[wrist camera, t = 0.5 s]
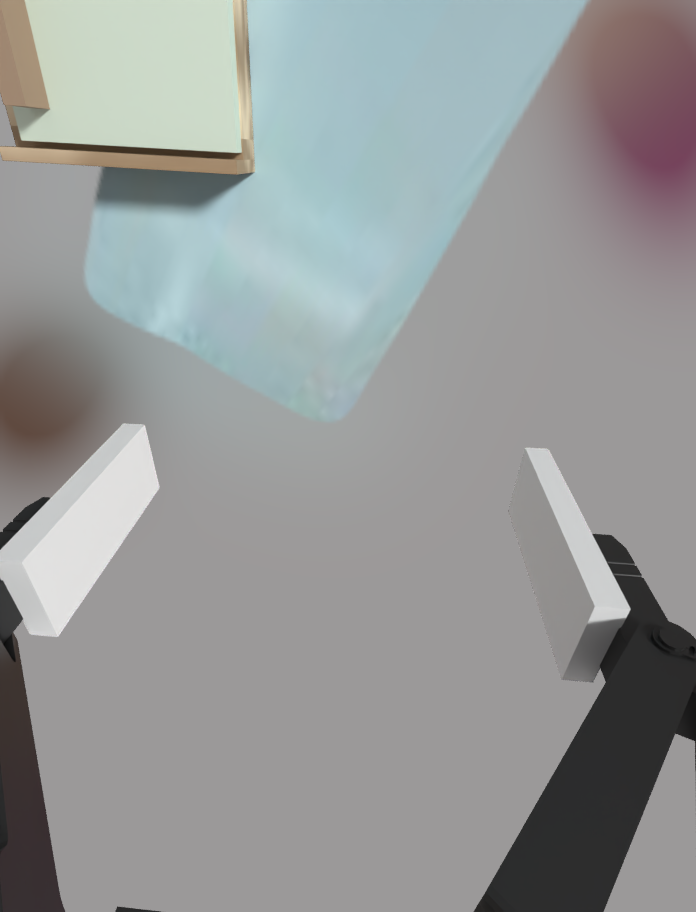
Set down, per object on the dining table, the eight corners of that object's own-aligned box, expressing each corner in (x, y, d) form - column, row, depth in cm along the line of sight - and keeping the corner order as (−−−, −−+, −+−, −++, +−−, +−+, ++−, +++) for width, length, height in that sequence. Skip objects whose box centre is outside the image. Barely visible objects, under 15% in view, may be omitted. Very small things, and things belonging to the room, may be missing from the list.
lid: (-31, -108, 27) (-85, -141, 24) (226, -98, 26) (205, -131, 23) (32, 140, 33) (-4, 139, 30) (241, 152, 32) (226, 152, 29)
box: (-22, -115, 29) (-90, -159, 25) (241, -106, 28) (216, -149, 24) (45, 159, 36) (2, 160, 32) (254, 172, 36) (237, 174, 32)
